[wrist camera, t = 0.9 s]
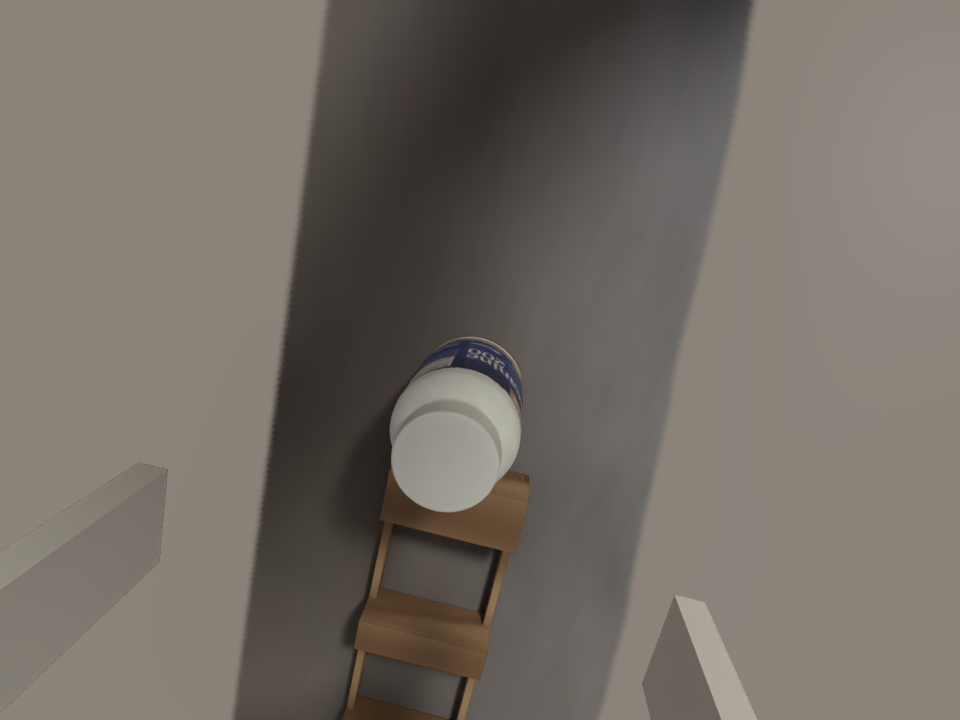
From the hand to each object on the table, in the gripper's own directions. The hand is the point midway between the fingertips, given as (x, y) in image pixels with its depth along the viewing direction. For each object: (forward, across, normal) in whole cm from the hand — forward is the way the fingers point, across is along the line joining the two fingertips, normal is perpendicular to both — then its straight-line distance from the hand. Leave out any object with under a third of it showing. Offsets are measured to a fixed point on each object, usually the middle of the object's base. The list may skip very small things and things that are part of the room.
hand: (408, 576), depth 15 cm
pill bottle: (+16, 0, 0) cm, 16 cm away
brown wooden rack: (+16, +1, -14) cm, 21 cm away
